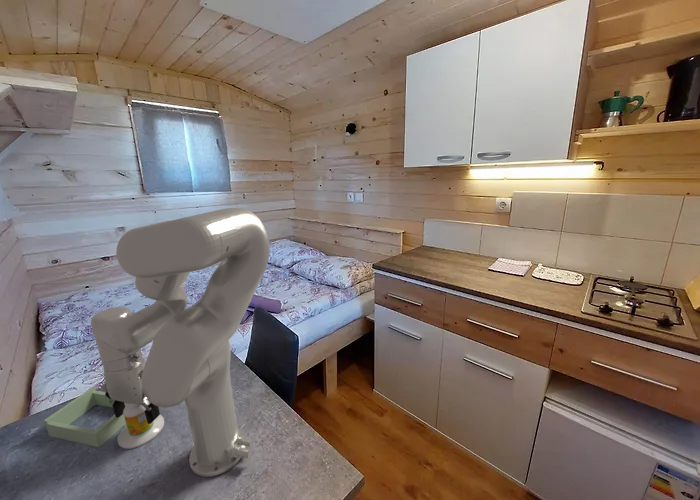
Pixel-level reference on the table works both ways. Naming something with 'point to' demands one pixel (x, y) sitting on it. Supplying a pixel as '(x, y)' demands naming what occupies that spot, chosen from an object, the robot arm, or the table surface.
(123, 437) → the saucer
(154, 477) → the table surface
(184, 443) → the table surface
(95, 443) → the frame
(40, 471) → the table surface
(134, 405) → the supplement bottle
